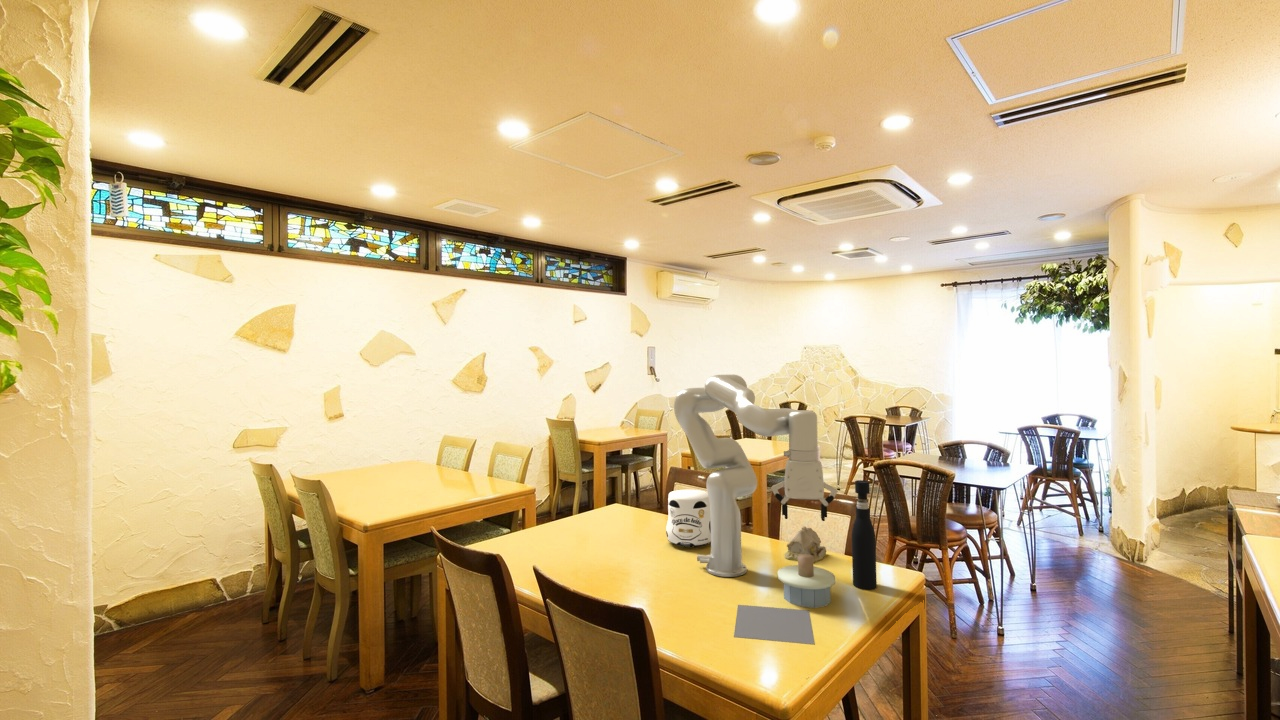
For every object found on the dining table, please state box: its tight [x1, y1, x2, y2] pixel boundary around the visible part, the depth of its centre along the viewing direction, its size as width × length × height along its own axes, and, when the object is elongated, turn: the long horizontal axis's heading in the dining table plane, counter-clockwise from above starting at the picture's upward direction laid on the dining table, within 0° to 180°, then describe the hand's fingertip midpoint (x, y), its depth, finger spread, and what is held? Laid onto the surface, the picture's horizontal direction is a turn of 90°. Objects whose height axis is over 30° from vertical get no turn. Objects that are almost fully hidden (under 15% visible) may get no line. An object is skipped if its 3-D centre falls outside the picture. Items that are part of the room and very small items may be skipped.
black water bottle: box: [851, 479, 878, 591], centre depth 159 cm, size 6×6×30 cm
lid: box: [777, 554, 836, 589], centre depth 149 cm, size 15×15×6 cm
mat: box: [733, 604, 816, 645], centre depth 134 cm, size 18×18×1 cm
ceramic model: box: [783, 526, 827, 563], centre depth 184 cm, size 14×11×10 cm
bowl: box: [783, 583, 832, 609], centre depth 149 cm, size 12×12×6 cm
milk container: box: [665, 489, 711, 548], centre depth 200 cm, size 17×17×18 cm
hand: (804, 518), depth 149 cm, fingers open, 9 cm apart
